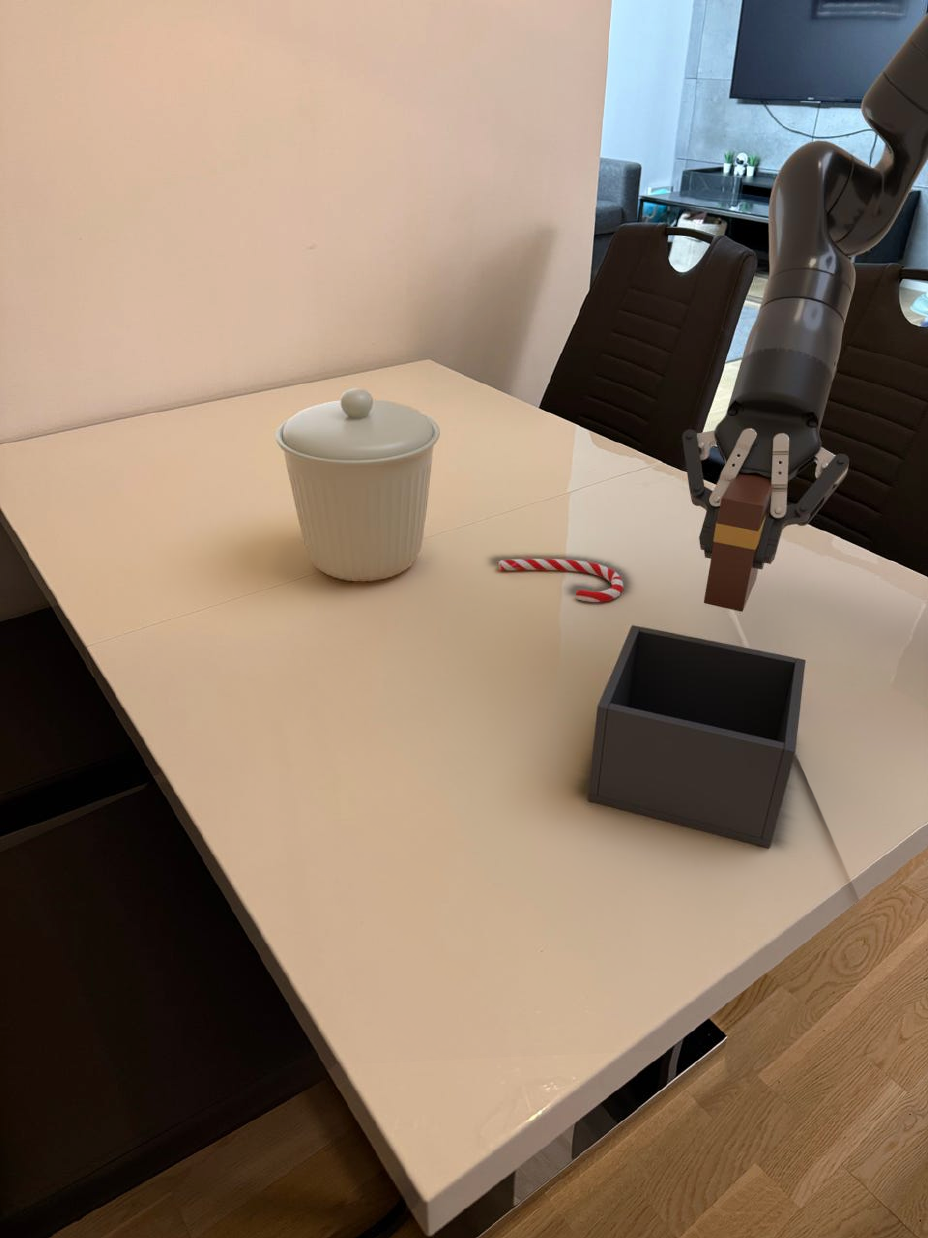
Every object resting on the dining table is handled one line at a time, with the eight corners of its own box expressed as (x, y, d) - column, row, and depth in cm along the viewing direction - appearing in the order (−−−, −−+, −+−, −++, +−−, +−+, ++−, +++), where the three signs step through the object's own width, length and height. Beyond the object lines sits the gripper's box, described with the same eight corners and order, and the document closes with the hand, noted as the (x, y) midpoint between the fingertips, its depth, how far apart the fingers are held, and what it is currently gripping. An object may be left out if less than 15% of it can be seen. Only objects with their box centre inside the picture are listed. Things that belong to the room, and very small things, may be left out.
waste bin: (782, 750, 81) (805, 659, 76) (769, 848, 71) (795, 751, 66) (620, 713, 85) (631, 624, 80) (586, 800, 75) (597, 706, 70)
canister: (442, 598, 103) (442, 417, 92) (280, 601, 102) (260, 418, 91) (437, 526, 118) (437, 364, 107) (296, 528, 117) (281, 365, 106)
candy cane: (505, 547, 111) (629, 566, 107) (504, 557, 111) (628, 575, 108) (487, 577, 104) (618, 598, 101) (487, 587, 105) (617, 608, 101)
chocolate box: (756, 579, 79) (777, 476, 74) (743, 612, 74) (764, 505, 69) (718, 571, 80) (736, 469, 75) (702, 603, 75) (720, 497, 70)
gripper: (699, 334, 75) (642, 527, 73) (882, 356, 70) (828, 564, 67) (704, 380, 82) (652, 557, 79) (871, 403, 77) (822, 594, 74)
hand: (733, 559), depth 73 cm, fingers closed on chocolate box, 3 cm apart
